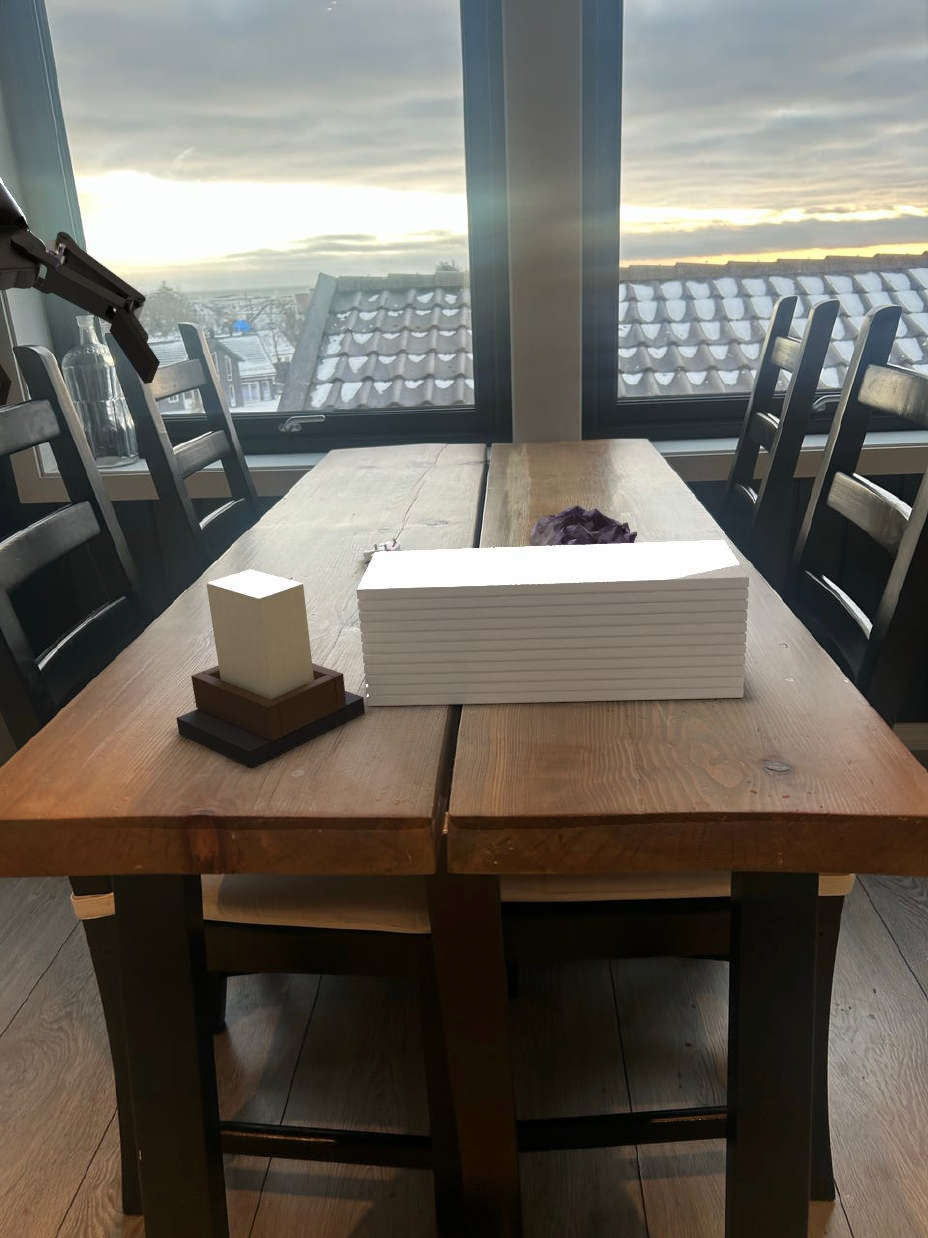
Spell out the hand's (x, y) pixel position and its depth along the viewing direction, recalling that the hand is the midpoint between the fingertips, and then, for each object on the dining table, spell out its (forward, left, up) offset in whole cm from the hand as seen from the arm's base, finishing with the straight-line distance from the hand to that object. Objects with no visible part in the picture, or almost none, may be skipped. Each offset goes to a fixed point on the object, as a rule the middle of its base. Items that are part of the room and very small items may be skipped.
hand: (82, 383), depth 85 cm
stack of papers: (+36, -16, -28) cm, 48 cm away
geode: (+49, +3, -28) cm, 56 cm away
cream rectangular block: (+11, -15, -26) cm, 32 cm away
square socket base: (+11, -15, -28) cm, 33 cm away
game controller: (+34, +25, -28) cm, 50 cm away
